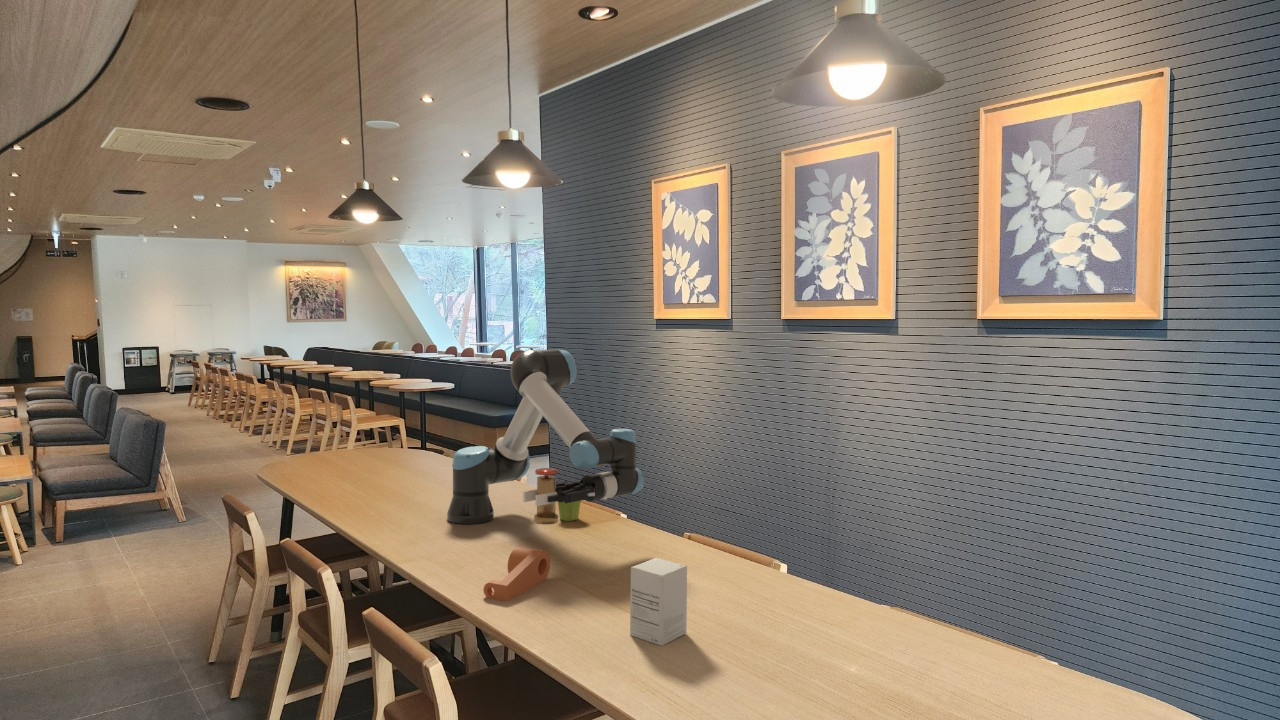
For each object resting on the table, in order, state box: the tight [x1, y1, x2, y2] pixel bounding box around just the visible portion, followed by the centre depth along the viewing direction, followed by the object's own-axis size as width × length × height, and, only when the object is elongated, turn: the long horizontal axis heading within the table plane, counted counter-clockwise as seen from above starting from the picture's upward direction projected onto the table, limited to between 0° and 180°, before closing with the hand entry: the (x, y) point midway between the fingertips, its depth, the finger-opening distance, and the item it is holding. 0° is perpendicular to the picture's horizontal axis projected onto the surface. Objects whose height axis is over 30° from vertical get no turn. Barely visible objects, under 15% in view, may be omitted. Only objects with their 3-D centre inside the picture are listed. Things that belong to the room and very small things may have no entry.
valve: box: [533, 467, 559, 526], centre depth 211 cm, size 6×6×14 cm
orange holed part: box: [483, 546, 552, 602], centre depth 196 cm, size 20×8×8 cm, turn 156°
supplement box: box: [629, 557, 688, 647], centre depth 167 cm, size 9×9×15 cm
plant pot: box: [557, 500, 582, 522], centre depth 261 cm, size 9×9×9 cm
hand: (530, 498), depth 207 cm, fingers closed on valve, 5 cm apart
